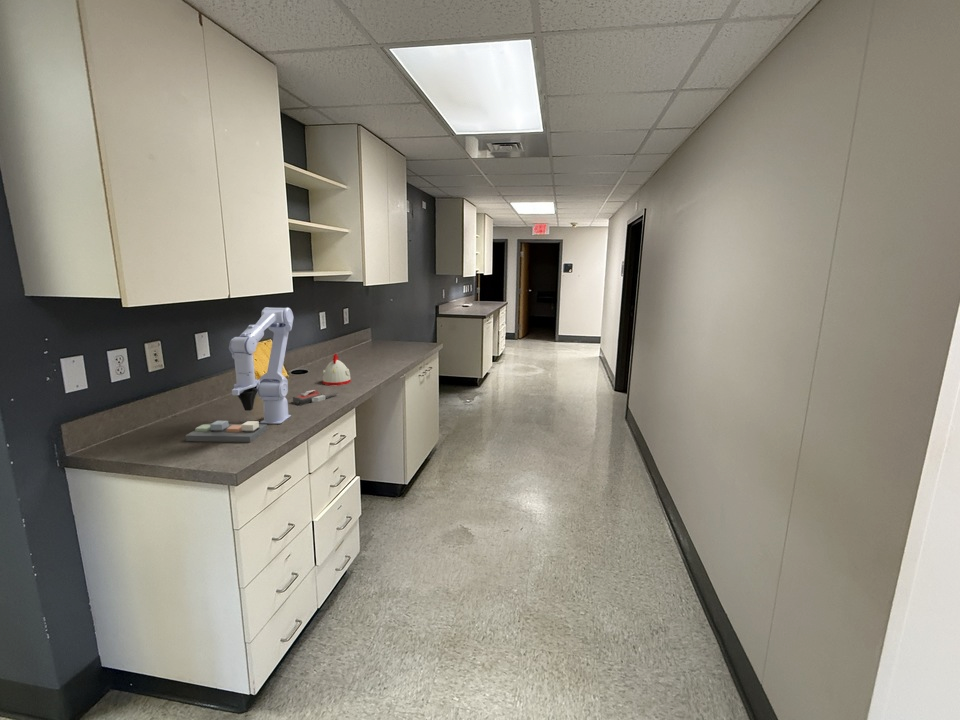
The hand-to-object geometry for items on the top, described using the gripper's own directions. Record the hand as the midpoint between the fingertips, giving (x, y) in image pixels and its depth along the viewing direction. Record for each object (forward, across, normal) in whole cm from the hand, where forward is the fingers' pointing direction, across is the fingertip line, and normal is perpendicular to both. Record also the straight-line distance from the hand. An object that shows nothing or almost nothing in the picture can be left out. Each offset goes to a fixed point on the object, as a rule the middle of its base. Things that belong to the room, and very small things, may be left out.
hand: (248, 409), depth 155 cm
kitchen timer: (+10, -77, +5) cm, 78 cm away
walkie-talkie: (+10, -46, +5) cm, 47 cm away
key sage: (+9, 0, -16) cm, 19 cm away
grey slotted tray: (+9, 0, -8) cm, 12 cm away
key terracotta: (+9, 0, -5) cm, 11 cm away
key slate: (+8, 0, -11) cm, 13 cm away
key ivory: (+8, 0, 0) cm, 8 cm away
